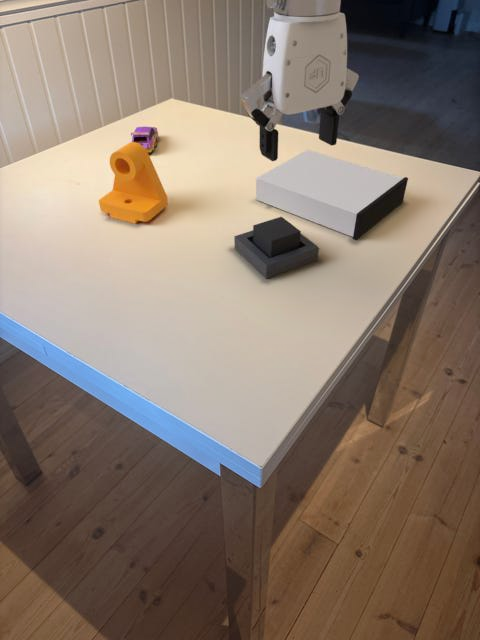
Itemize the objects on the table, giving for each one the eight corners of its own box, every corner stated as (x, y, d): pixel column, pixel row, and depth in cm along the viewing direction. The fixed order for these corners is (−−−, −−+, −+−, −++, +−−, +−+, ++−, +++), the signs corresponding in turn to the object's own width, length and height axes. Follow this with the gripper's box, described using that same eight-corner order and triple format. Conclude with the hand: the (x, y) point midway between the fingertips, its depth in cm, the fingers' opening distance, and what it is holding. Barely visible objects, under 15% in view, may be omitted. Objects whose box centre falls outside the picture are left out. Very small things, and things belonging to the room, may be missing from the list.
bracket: (99, 214, 92) (85, 152, 84) (121, 198, 97) (110, 137, 89) (147, 226, 88) (137, 162, 80) (168, 208, 93) (160, 146, 85)
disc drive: (356, 240, 84) (360, 214, 81) (255, 201, 95) (255, 176, 92) (403, 202, 94) (409, 178, 91) (306, 170, 105) (308, 148, 102)
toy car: (160, 136, 121) (158, 117, 118) (153, 155, 112) (151, 135, 109) (138, 136, 121) (135, 117, 118) (129, 155, 112) (126, 135, 109)
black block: (280, 237, 83) (281, 216, 80) (299, 252, 79) (300, 231, 77) (252, 246, 81) (253, 225, 78) (270, 262, 77) (271, 241, 75)
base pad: (283, 232, 86) (284, 220, 84) (317, 260, 80) (319, 247, 78) (234, 248, 82) (234, 236, 81) (266, 279, 76) (266, 265, 74)
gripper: (260, 14, 50) (259, 174, 61) (387, -2, 56) (365, 145, 67) (225, 5, 55) (230, 154, 66) (345, -9, 61) (332, 129, 72)
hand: (298, 149), depth 67 cm, fingers open, 9 cm apart
